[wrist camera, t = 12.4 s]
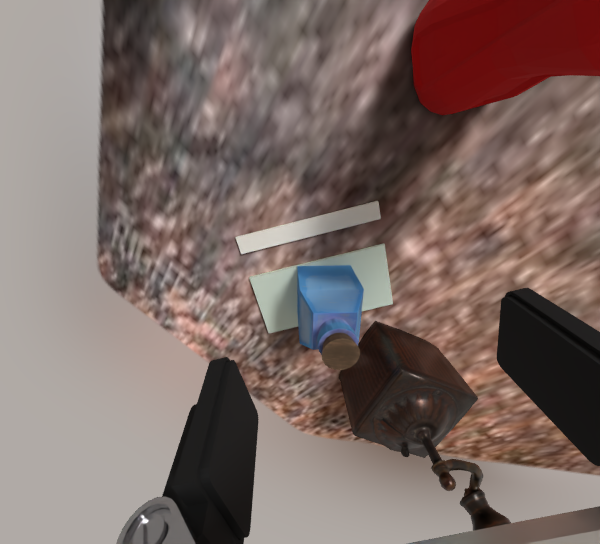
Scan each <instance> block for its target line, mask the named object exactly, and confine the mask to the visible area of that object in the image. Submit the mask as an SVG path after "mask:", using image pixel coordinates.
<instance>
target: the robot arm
mask: <svg viewBox="0 0 600 544" xmlns="http://www.w3.org/2000/svg"><path fill="white" fill-rule="evenodd" d="M497 361H498V363H499V365H500V367H501V368H502V369H503V370H504V371H505V372H506V373H507V374H508V375H509V376H510V377H511V379H512V380H513V381H514V382H515V383H516V384H517V385H518V386H519V387H520V388H521V389H522V390H523V391H524V392H525V393H526V394H527V395H528V397H529V398H530V399H531V400H532V401H533V402H534V403H535V404H536V405H537V406H538V407H539V408H540V409H541V410H542V411H543V412H544V413H545V415H546V416H547V417H548V418H549V419H550V420H551V421H552V422H553V423H554V424H555V425H556V426H557V427H558V428H559V429H560V430H561V431H562V433H563V434H564V435H565V436H566V437H567V438H568V439H569V440H570V441H571V442H572V443H573V444H574V445H575V446H576V447H577V448H578V449H579V450H580V452H581V453H582V454H583V455H584V456H585V457H586V458H587V459H588V460H589V461H590V462H591V463H593V464H594V465H597V466H600V332H599V331H597V330H596V329H594V328H592V327H591V326H589V325H587V324H586V323H584V322H583V321H581V320H579V319H578V318H576V317H575V316H573V315H571V314H570V313H568V312H567V311H565V310H563V309H562V308H560V307H558V306H557V305H555V304H554V303H552V302H550V301H549V300H547V299H546V298H544V297H542V296H541V295H539V294H538V293H536V292H534V291H533V290H531V289H529V288H523V289H519V290H515V291H510V292H508V293H506V295H505V297H504V298H503V299H502V301H501V311H500V323H499V336H498V348H497ZM257 430H258V413H257V410H256V408H255V405H254V403H253V401H252V399H251V396H250V394H249V392H248V390H247V387H246V385H245V383H244V381H243V378H242V376H241V374H240V372H239V369H238V367H237V365H236V363H235V361H234V360H231V361H230V360H229V358H228V357H226V358H221V359H217V360H213V361H211V362H210V363H209V366H208V370H207V373H206V376H205V380H204V383H203V386H202V390H201V393H200V396H199V399H198V402H197V404H196V405H194V406H193V407H192V408H191V410H190V412H189V416H188V419H187V422H186V425H185V428H184V431H183V434H182V437H181V440H180V443H179V446H178V450H177V452H176V456H175V459H174V462H173V465H172V468H171V471H170V474H169V477H168V480H167V484H166V486H165V490H164V493H163V496H162V497H157V498H154V499H152V500H150V501H148V502H146V503H145V504H144V505H142V506H141V507H140V508H138V510H137V511H136V512H135V513H134V514H133V515H132V516H131V517H130V518H129V520H128V521H127V523H126V524H125V526H124V527H123V529H122V532H121V534H120V536H119V538H118V540H117V544H243V542H244V538H245V537H248V536H249V532H250V524H251V511H252V498H253V485H254V471H255V457H256V445H257V432H258V431H257ZM409 544H600V507H594V508H589V509H584V510H579V511H573V512H568V513H562V514H557V515H552V516H547V517H542V518H536V519H531V520H526V521H521V522H516V523H510V524H505V525H500V526H495V527H490V528H485V529H480V530H474V531H469V532H465V533H459V534H454V535H449V536H444V537H439V538H434V539H429V540H424V541H418V542H413V543H409Z"/></svg>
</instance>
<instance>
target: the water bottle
mask: <svg viewBox="0 0 600 544" xmlns="http://www.w3.org/2000/svg"><path fill="white" fill-rule="evenodd" d="M411 55H412V64H413V79H414V87H415V90H416V93H417V95H418V98H419V101H420V103H421V104H422V105H423V106H424V107H426V108H427V109H428V110H429V111H430V112H433V113H437V114H440V115H448V114H453V113H457V112H460V111H465V110H468V109H471V108H475V107H478V106H482V105H486V104H489V103H493V102H497V101H500V100H504V99H508V98H511V97H514V96H517V95H519V94H521V93H522V92H524V91H526V90H528V89H529V88H531V87H533V86H535V85H537V84H538V83H540V82H542V81H544V80H545V79H547V78H549V77H551V76H565V75H584V76H600V0H429V1H428V3H427V4H426V6H425V7H424V9H423V10H422V12H421V13H420V15H419V17H418V19H417V21H416V24H415V28H414V35H413V42H412V48H411Z"/></svg>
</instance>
